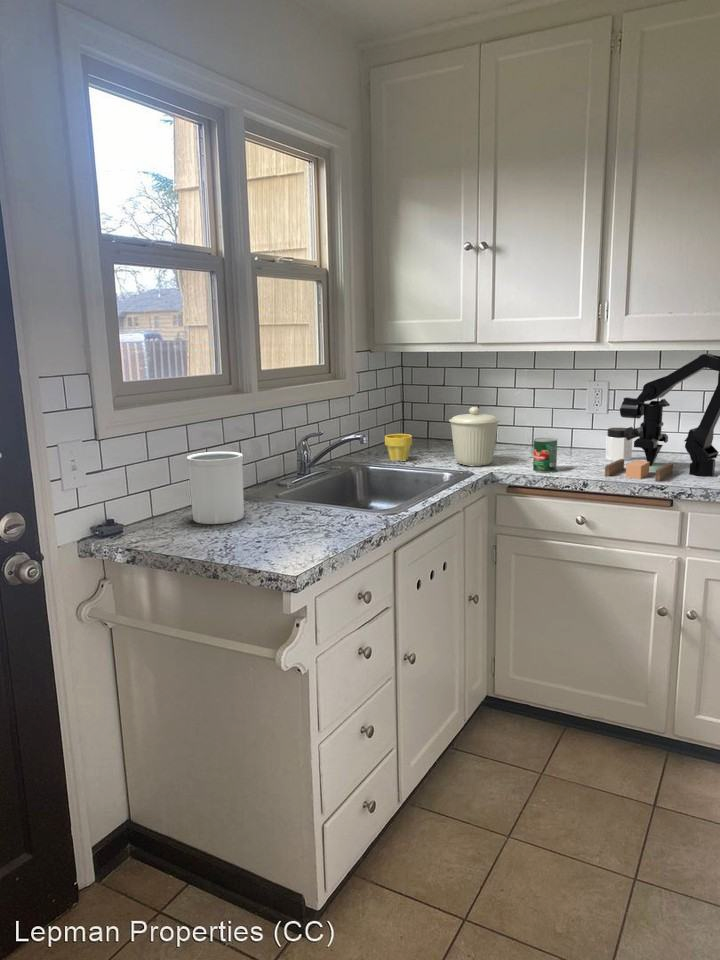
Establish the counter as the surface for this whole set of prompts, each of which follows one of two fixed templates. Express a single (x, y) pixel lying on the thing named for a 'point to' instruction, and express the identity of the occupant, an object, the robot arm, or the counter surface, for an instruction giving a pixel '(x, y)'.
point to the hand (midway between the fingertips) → (649, 466)
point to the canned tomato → (545, 455)
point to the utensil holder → (216, 487)
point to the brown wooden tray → (619, 466)
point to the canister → (474, 437)
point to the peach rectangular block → (637, 469)
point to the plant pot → (398, 446)
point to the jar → (618, 445)
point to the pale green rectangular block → (656, 466)
